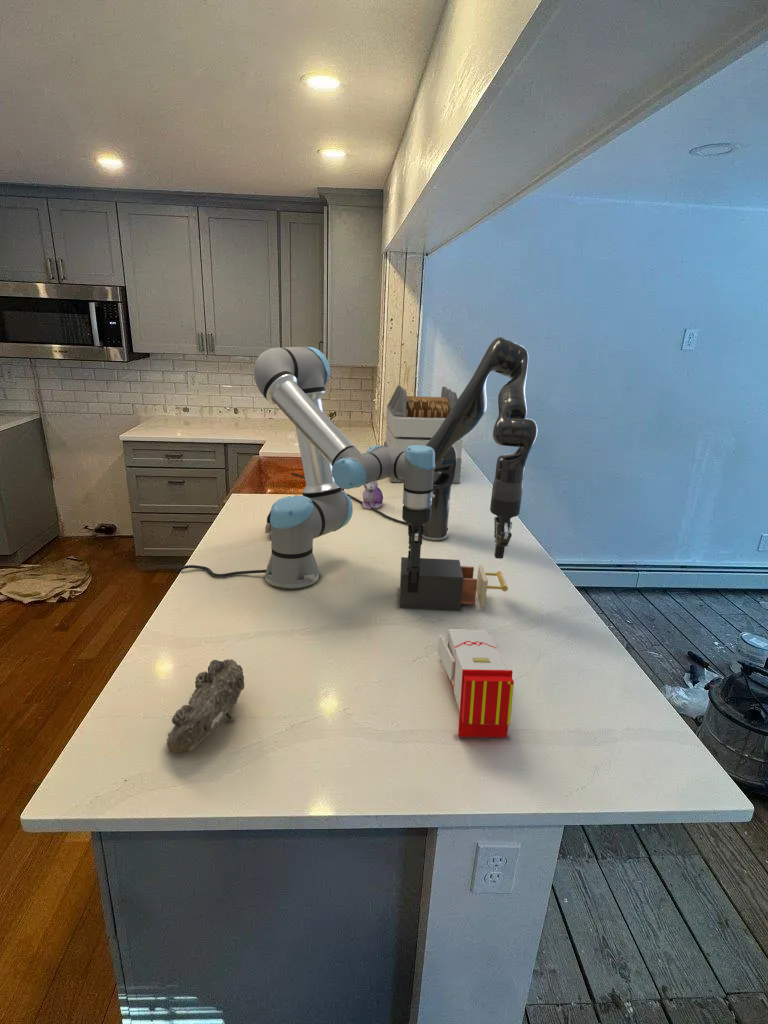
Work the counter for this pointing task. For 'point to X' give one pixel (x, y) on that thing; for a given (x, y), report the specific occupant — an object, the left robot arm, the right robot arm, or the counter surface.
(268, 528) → the figurine character
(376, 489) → the figurine
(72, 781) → the counter surface
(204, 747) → the counter surface
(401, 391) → the transformer
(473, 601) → the drawer
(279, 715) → the counter surface
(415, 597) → the cabinet
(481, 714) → the toy
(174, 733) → the fossil
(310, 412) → the left robot arm
